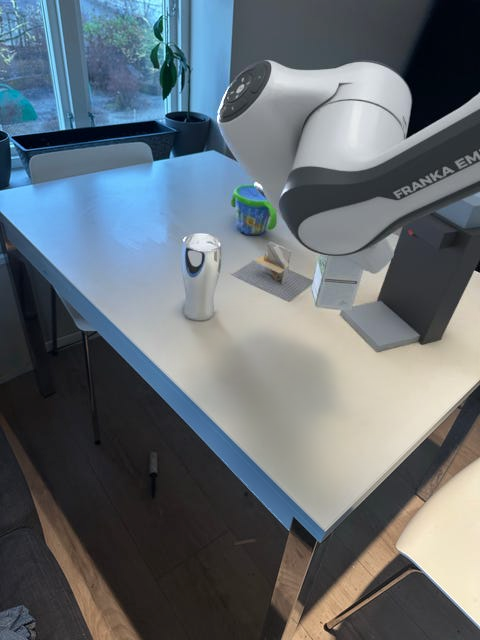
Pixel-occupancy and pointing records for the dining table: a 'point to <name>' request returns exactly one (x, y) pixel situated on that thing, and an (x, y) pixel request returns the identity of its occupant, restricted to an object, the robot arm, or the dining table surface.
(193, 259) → the beer glass
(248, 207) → the snack cup
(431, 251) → the coffee maker
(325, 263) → the syrup box
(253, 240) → the dining table surface
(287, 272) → the architectural model
